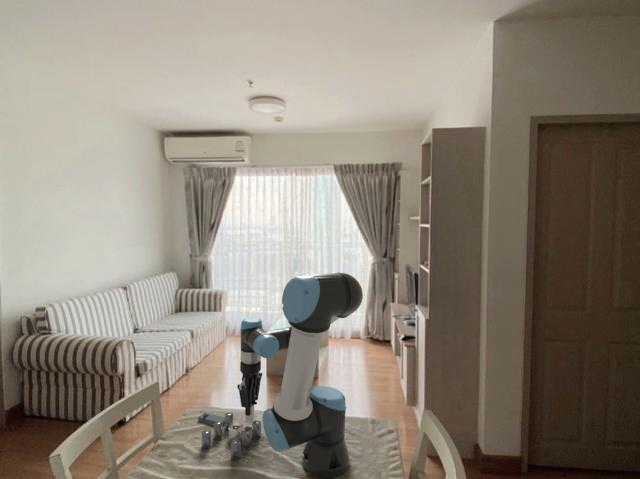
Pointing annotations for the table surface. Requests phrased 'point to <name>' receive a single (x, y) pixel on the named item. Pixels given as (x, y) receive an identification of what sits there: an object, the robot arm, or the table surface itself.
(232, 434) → the silver metal cylinder
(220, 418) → the bracket
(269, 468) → the table surface
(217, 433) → the spacer field
